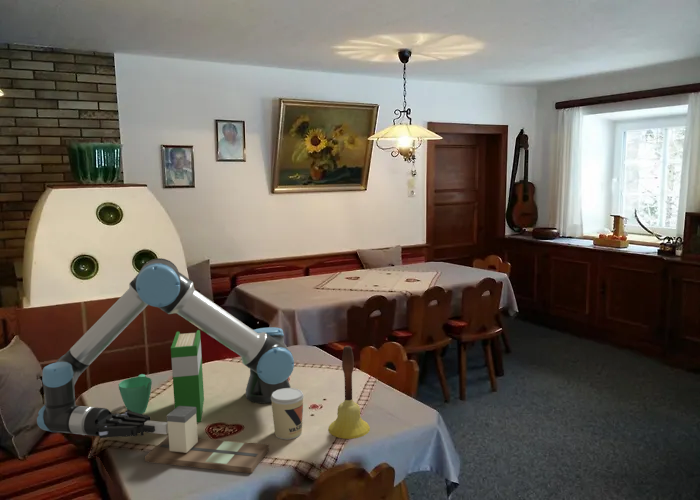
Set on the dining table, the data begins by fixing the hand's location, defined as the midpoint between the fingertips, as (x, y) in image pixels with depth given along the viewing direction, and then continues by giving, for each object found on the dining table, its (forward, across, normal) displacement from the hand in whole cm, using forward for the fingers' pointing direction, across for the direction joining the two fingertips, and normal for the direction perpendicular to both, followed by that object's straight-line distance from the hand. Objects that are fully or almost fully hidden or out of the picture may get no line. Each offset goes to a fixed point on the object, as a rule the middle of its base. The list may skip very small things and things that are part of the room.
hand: (167, 428), depth 147 cm
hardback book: (-7, -25, -7) cm, 27 cm away
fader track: (+11, 0, -7) cm, 13 cm away
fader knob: (+4, 0, -5) cm, 7 cm away
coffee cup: (+28, -17, -7) cm, 34 cm away
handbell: (+45, -23, -7) cm, 51 cm away
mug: (-25, -24, -7) cm, 35 cm away
